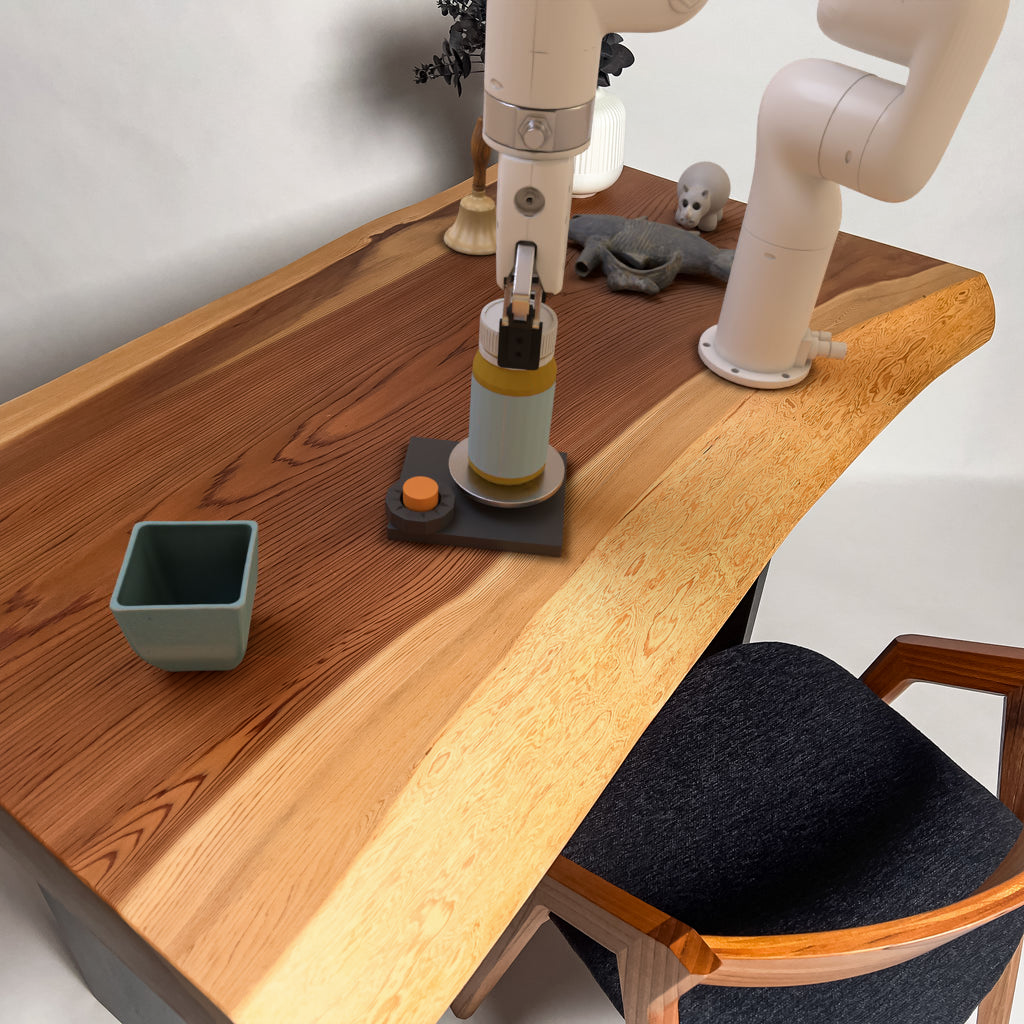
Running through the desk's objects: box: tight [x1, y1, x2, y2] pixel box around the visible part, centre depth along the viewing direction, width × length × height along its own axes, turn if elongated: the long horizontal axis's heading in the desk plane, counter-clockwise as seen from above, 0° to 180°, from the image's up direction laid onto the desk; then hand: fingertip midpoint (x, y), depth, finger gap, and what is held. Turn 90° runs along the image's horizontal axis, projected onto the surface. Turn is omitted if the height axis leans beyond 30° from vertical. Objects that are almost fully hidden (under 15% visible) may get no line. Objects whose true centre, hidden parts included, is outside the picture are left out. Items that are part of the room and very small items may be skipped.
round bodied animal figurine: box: [674, 160, 732, 232], centre depth 130 cm, size 7×12×8 cm, turn 155°
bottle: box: [468, 297, 559, 486], centre depth 81 cm, size 7×7×15 cm
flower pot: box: [109, 519, 259, 673], centre depth 70 cm, size 9×9×9 cm
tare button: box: [403, 476, 438, 512], centre depth 82 cm, size 3×3×2 cm
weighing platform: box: [448, 436, 565, 508], centre depth 86 cm, size 10×10×1 cm
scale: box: [384, 436, 568, 558], centre depth 86 cm, size 16×13×3 cm
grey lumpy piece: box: [568, 213, 736, 296], centre depth 121 cm, size 5×25×15 cm
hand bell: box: [443, 115, 496, 256], centre depth 120 cm, size 8×8×16 cm
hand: (522, 332), depth 77 cm, fingers open, 9 cm apart
